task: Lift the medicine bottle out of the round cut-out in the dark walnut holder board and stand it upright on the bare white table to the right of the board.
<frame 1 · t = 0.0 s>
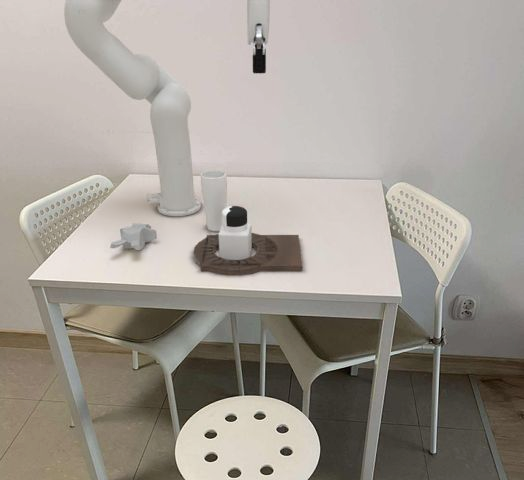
hand: (259, 69, 136), 37 cm above the table, tool pointing down, fingers open, 9 cm apart
drinking glass: (216, 228, 147), on the table
medicine bottle: (236, 255, 134), resting in holder board
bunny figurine: (136, 247, 138), on the table
holder board: (252, 254, 134), on the table
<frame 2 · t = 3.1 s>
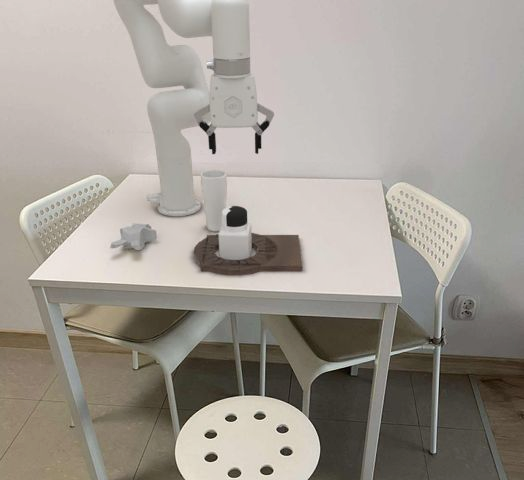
hand: (235, 152, 121), 25 cm above the table, tool pointing down, fingers open, 9 cm apart
nothing on the table moved.
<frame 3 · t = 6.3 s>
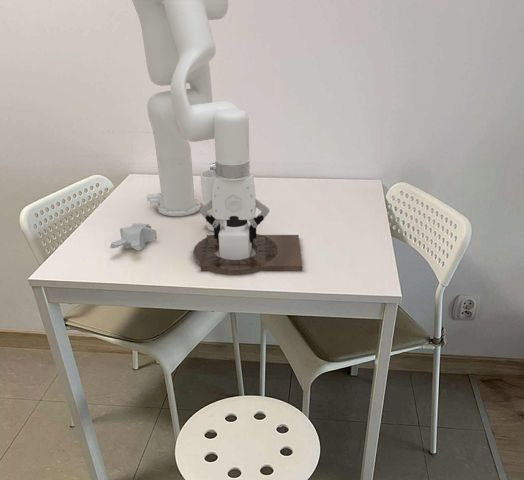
hand: (235, 240, 132), 4 cm above the table, tool pointing down, fingers closed on medicine bottle, 7 cm apart
medicine bottle: (236, 255, 134), resting in holder board, touching gripper
everything else where it was.
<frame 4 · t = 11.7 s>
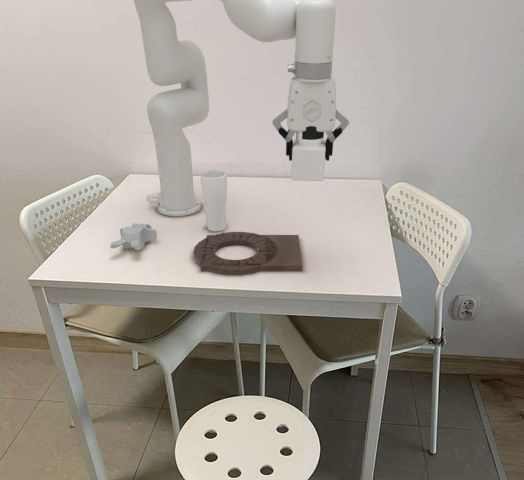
hand: (308, 158, 120), 24 cm above the table, tool pointing down, fingers closed on medicine bottle, 7 cm apart
medicine bottle: (307, 176, 122), point 20 cm above the table, touching gripper
everything else where it was.
when the fingers open (4 cm above the table, at t = 17.1 s): medicine bottle stays where it is, on the table.
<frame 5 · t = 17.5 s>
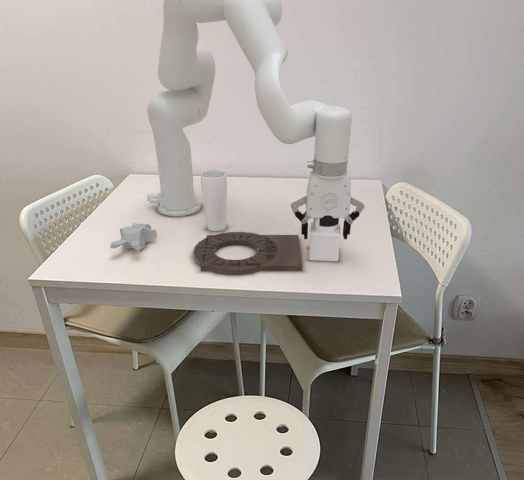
hand: (325, 237, 131), 5 cm above the table, tool pointing down, fingers open, 9 cm apart
medicine bottle: (323, 255, 134), on the table
everything else where it was.
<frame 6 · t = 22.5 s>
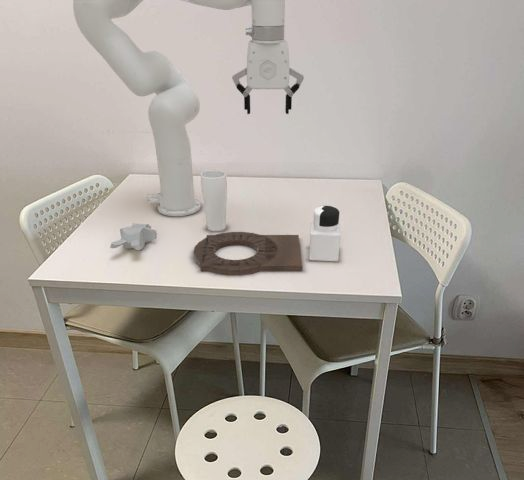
hand: (267, 112, 135), 28 cm above the table, tool pointing down, fingers open, 9 cm apart
nothing on the table moved.
at the end: medicine bottle inside the target area (0.1 cm from its centre), on the table; medicine bottle tilted 0°; the gripper is holding nothing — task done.
